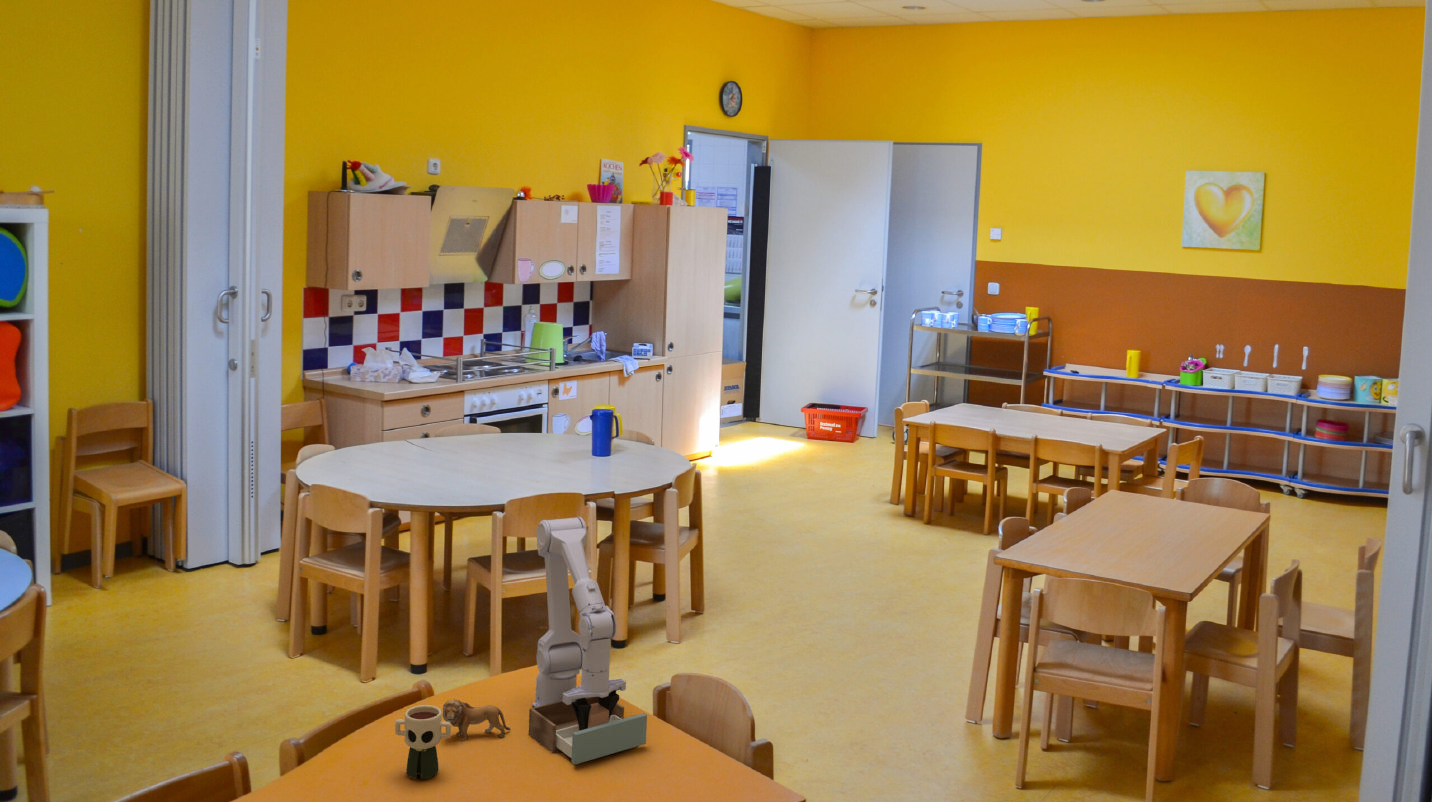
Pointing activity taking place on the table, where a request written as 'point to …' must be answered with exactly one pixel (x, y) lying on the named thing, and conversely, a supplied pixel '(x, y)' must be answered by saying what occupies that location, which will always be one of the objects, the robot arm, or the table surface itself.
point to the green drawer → (602, 738)
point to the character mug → (422, 739)
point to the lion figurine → (472, 717)
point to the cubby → (557, 720)
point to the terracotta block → (597, 715)
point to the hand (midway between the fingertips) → (593, 728)
